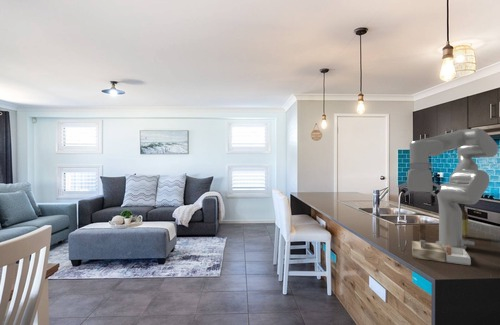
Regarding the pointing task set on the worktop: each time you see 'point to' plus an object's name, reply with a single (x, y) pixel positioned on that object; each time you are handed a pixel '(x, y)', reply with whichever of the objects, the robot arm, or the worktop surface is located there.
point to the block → (448, 249)
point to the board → (428, 251)
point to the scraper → (422, 234)
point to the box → (458, 256)
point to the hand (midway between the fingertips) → (419, 203)
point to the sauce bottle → (464, 221)
